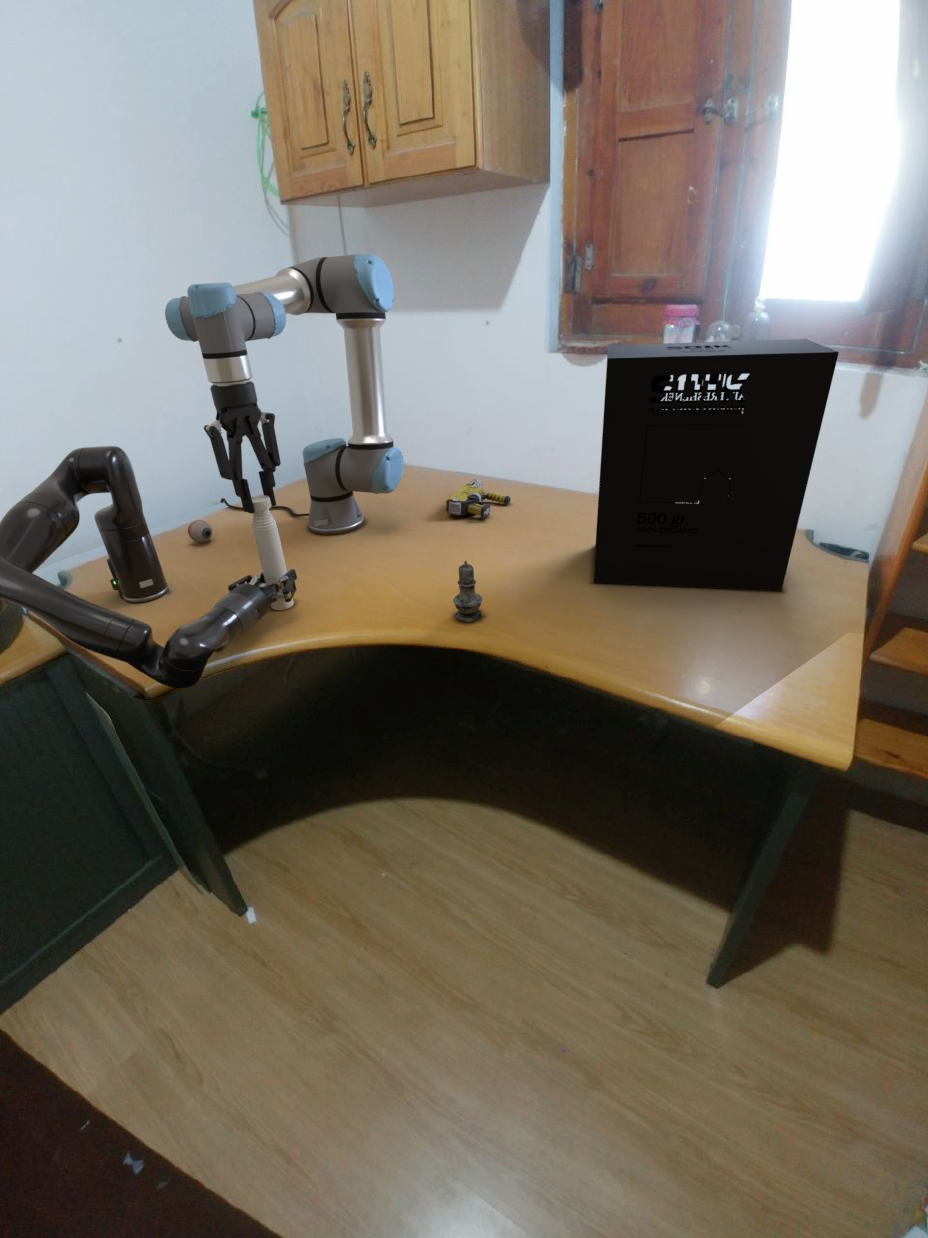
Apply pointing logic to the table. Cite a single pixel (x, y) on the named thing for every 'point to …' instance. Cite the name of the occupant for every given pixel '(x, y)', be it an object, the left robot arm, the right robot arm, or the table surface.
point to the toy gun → (473, 500)
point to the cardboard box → (707, 461)
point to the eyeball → (200, 531)
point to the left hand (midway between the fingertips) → (282, 572)
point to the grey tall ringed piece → (467, 595)
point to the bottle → (270, 551)
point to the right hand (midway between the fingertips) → (260, 507)
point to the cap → (261, 502)
